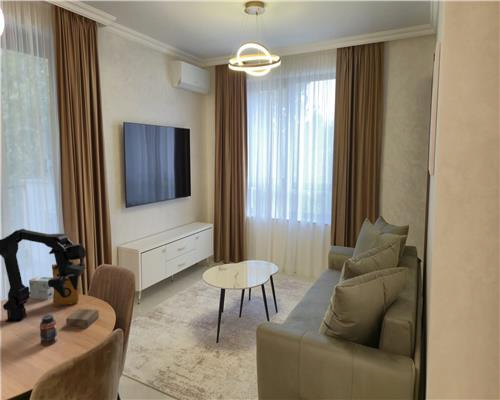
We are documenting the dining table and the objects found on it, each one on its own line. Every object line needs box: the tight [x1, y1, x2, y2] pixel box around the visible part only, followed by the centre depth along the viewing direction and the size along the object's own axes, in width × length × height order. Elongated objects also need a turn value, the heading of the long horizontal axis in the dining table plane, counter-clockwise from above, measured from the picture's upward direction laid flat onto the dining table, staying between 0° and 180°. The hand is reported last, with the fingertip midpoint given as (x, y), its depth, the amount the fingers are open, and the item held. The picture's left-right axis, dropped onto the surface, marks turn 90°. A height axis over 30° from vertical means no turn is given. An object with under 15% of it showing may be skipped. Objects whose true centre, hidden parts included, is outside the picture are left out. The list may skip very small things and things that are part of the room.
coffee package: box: [51, 261, 80, 307], centre depth 182 cm, size 10×12×22 cm
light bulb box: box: [28, 275, 54, 300], centre depth 190 cm, size 11×7×11 cm, turn 84°
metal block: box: [65, 308, 100, 329], centre depth 162 cm, size 10×10×4 cm
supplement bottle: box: [39, 314, 58, 346], centre depth 144 cm, size 6×6×11 cm
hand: (70, 293), depth 161 cm, fingers open, 9 cm apart
